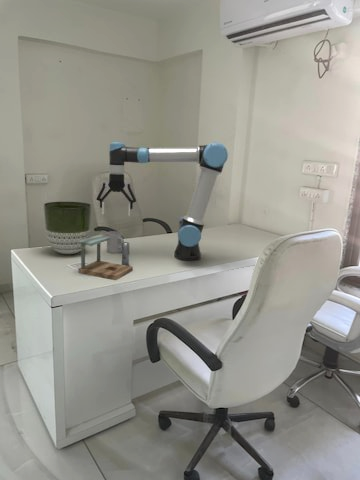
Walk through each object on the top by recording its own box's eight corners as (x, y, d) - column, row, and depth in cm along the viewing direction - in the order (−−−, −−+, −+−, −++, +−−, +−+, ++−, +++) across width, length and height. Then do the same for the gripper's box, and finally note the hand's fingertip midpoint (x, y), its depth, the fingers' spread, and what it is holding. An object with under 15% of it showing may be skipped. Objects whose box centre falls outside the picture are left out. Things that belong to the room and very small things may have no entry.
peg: (129, 265, 188) (130, 242, 186) (126, 267, 185) (127, 244, 182) (123, 264, 190) (124, 241, 187) (120, 266, 186) (120, 243, 183)
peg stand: (132, 270, 180) (133, 240, 177) (115, 280, 166) (116, 247, 162) (97, 264, 187) (97, 235, 184) (78, 272, 172) (78, 241, 169)
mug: (103, 251, 212) (103, 232, 209) (115, 248, 218) (115, 230, 216) (117, 255, 204) (117, 236, 202) (128, 253, 211) (129, 234, 208)
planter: (99, 254, 205) (100, 206, 198) (59, 261, 187) (58, 209, 181) (76, 245, 221) (75, 200, 214) (36, 251, 203) (35, 202, 197)
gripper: (141, 174, 191) (140, 214, 196) (93, 171, 190) (93, 212, 195) (140, 175, 184) (139, 217, 189) (90, 172, 183) (90, 214, 188)
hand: (116, 214), depth 192 cm, fingers open, 13 cm apart
